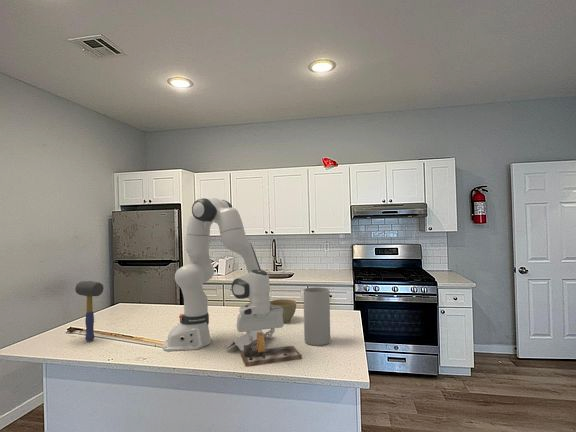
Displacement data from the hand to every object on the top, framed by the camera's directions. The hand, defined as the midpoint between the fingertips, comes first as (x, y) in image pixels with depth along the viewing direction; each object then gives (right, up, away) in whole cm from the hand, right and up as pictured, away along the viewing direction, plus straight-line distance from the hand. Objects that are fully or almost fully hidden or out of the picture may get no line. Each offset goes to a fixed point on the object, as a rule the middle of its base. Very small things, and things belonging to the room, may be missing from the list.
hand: (260, 339), depth 149 cm
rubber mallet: (-88, -9, +23) cm, 91 cm away
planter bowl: (+9, -8, +53) cm, 54 cm away
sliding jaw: (+1, -5, -2) cm, 6 cm away
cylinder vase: (+26, -7, +17) cm, 32 cm away
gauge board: (+4, -7, -1) cm, 9 cm away
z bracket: (-6, -7, +15) cm, 18 cm away
